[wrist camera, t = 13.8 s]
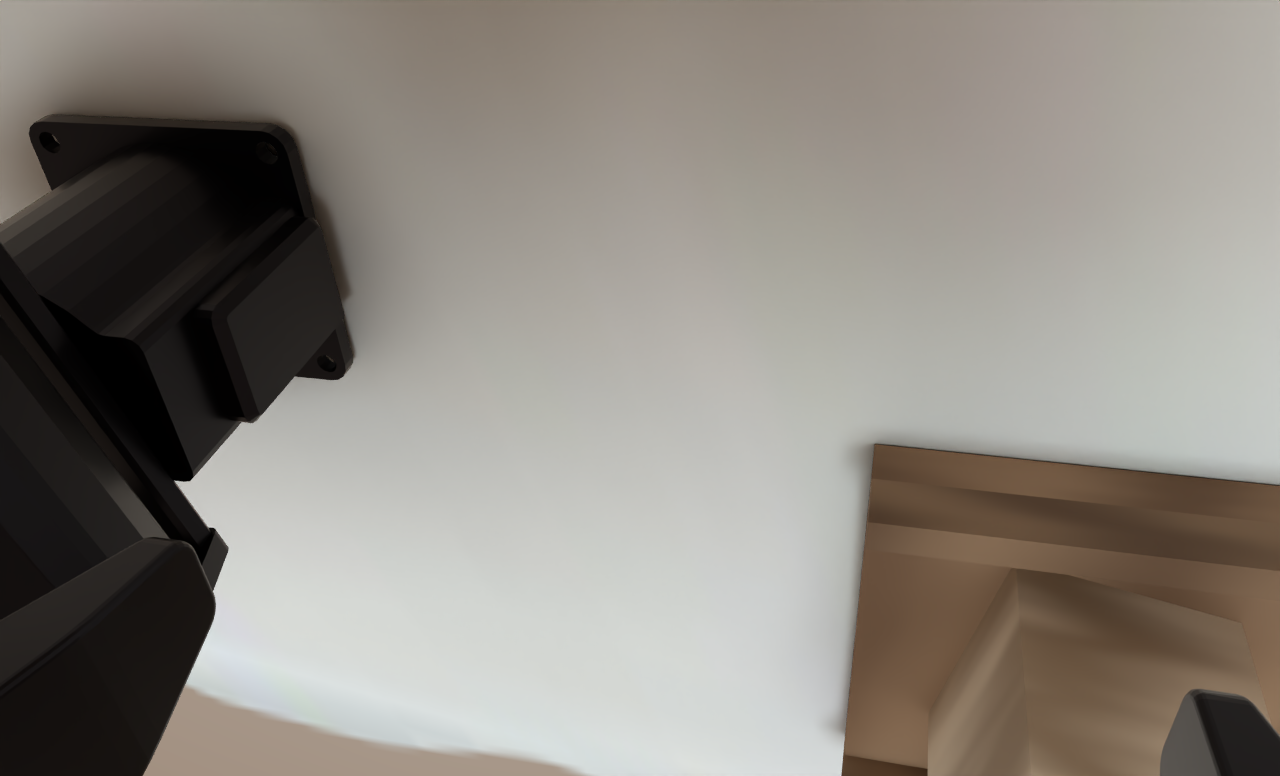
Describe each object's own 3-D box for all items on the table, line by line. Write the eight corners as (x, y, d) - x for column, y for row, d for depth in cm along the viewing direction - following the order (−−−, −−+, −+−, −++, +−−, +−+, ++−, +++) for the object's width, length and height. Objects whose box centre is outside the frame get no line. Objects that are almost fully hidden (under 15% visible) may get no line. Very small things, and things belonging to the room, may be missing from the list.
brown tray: (845, 735, 30) (837, 816, 28) (874, 444, 24) (868, 522, 22) (1260, 804, 28) (1284, 897, 26) (1419, 500, 21) (1469, 594, 19)
